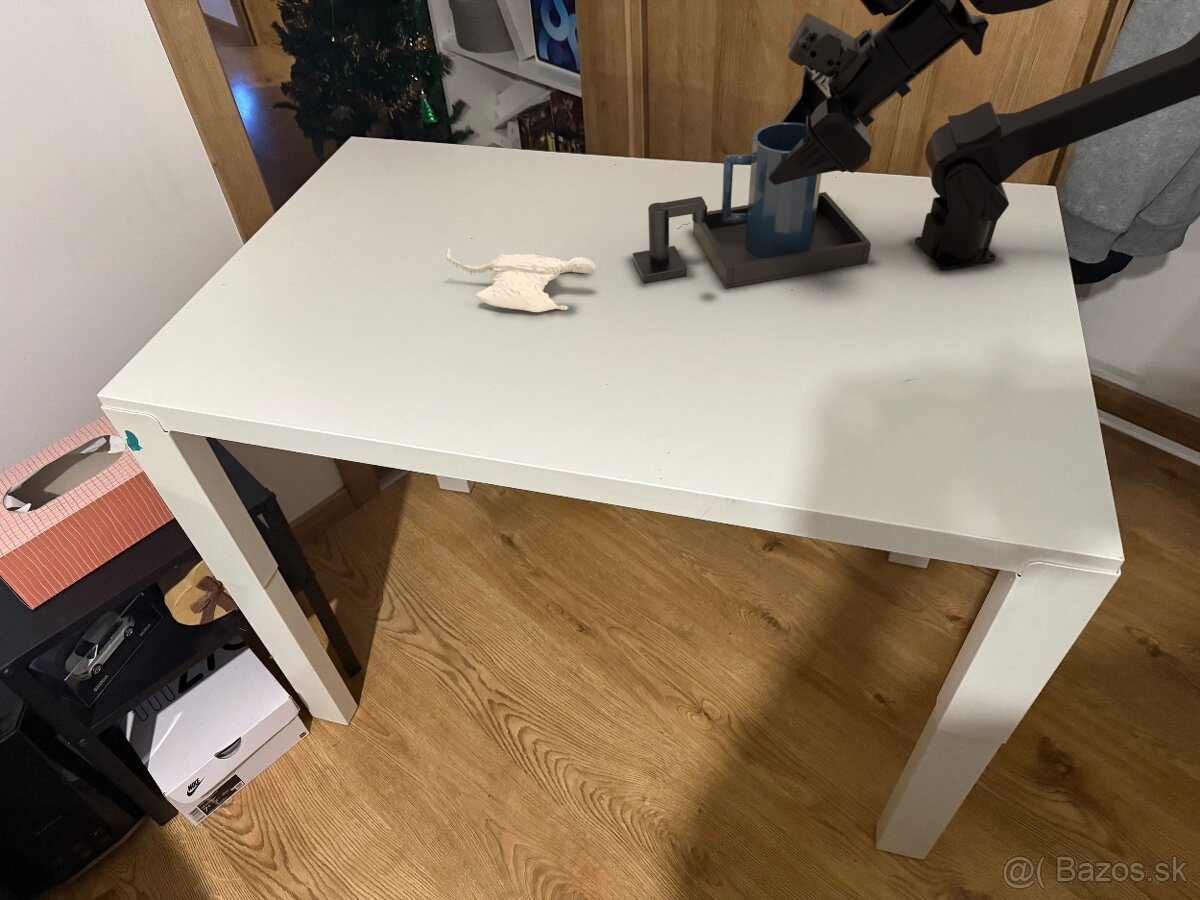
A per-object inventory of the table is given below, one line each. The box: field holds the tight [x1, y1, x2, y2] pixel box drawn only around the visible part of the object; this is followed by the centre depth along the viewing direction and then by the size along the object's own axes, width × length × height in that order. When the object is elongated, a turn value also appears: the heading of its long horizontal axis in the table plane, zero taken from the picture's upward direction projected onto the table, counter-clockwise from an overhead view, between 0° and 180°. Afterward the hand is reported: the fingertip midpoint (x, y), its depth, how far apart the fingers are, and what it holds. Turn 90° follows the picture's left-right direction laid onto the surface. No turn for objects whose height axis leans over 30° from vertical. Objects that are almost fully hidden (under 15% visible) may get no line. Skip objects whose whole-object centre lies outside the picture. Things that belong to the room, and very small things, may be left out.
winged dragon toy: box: [439, 246, 597, 313], centre depth 90 cm, size 18×10×4 cm, turn 78°
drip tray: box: [692, 191, 872, 289], centre depth 93 cm, size 16×12×2 cm
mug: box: [721, 121, 822, 259], centre depth 90 cm, size 10×7×12 cm
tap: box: [632, 196, 708, 284], centre depth 90 cm, size 8×5×8 cm, turn 102°
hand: (771, 160), depth 87 cm, fingers open, 9 cm apart
